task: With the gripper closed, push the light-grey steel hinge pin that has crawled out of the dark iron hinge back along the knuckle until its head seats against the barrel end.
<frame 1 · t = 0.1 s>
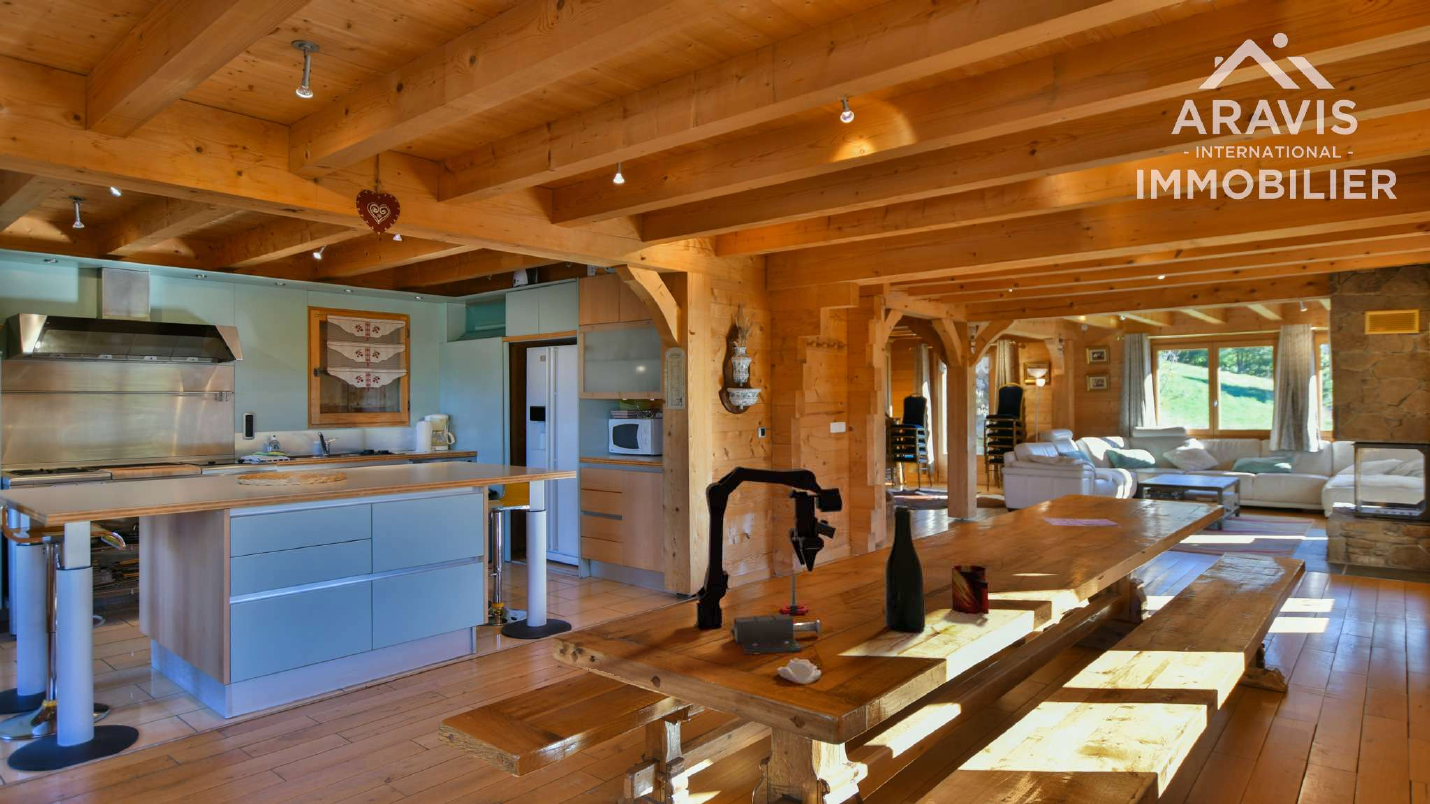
hand: (806, 568, 226), 15 cm above the table, tool pointing down, fingers open, 9 cm apart
tow hook: (794, 611, 236), on the table
beer bottle: (905, 628, 215), on the table
pin: (791, 628, 209), point 2 cm above the table, slide at 6.5 cm
hinge: (765, 639, 208), on the table
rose: (799, 678, 180), on the table
mug: (976, 611, 231), on the table
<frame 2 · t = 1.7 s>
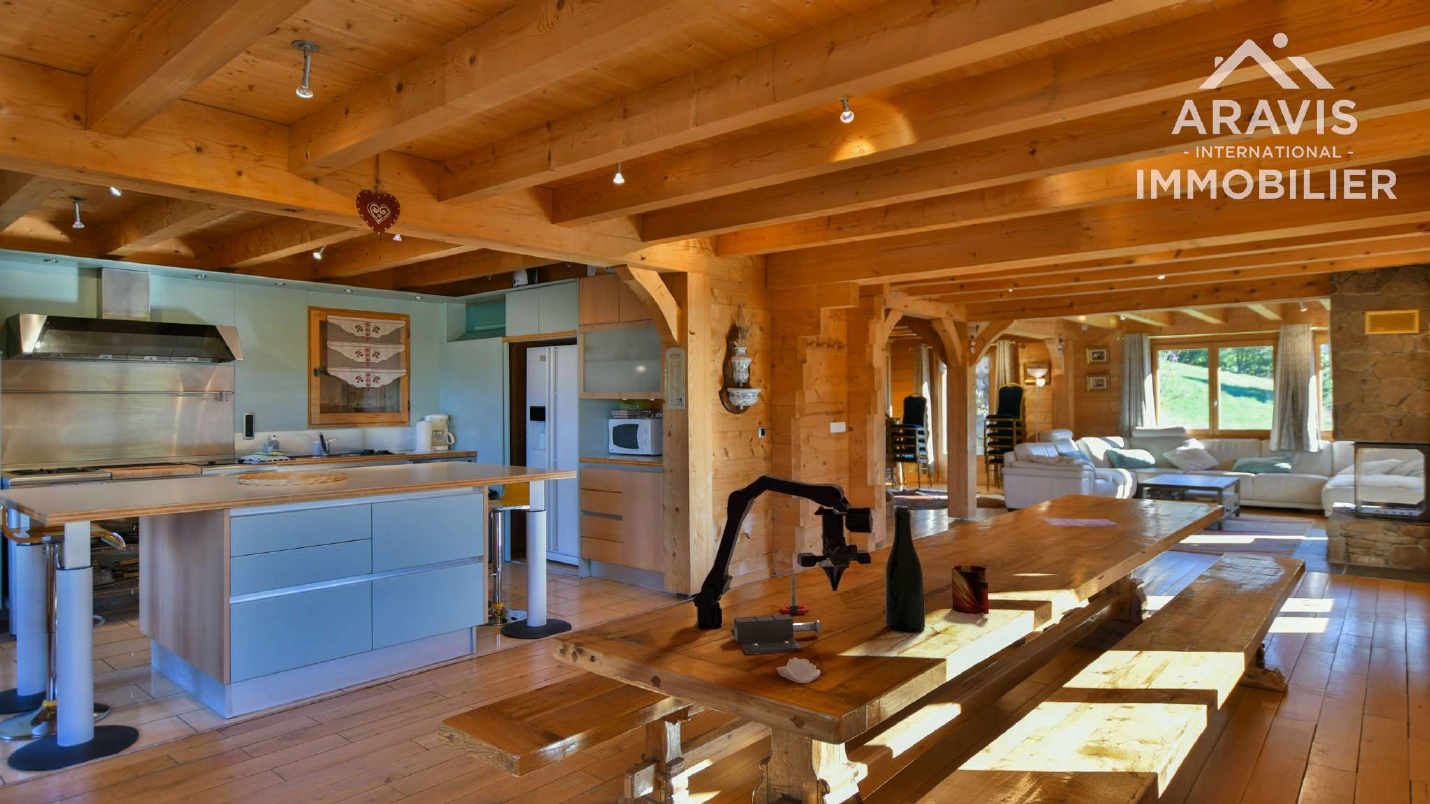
hand: (834, 590, 211), 12 cm above the table, tool pointing down, fingers closed
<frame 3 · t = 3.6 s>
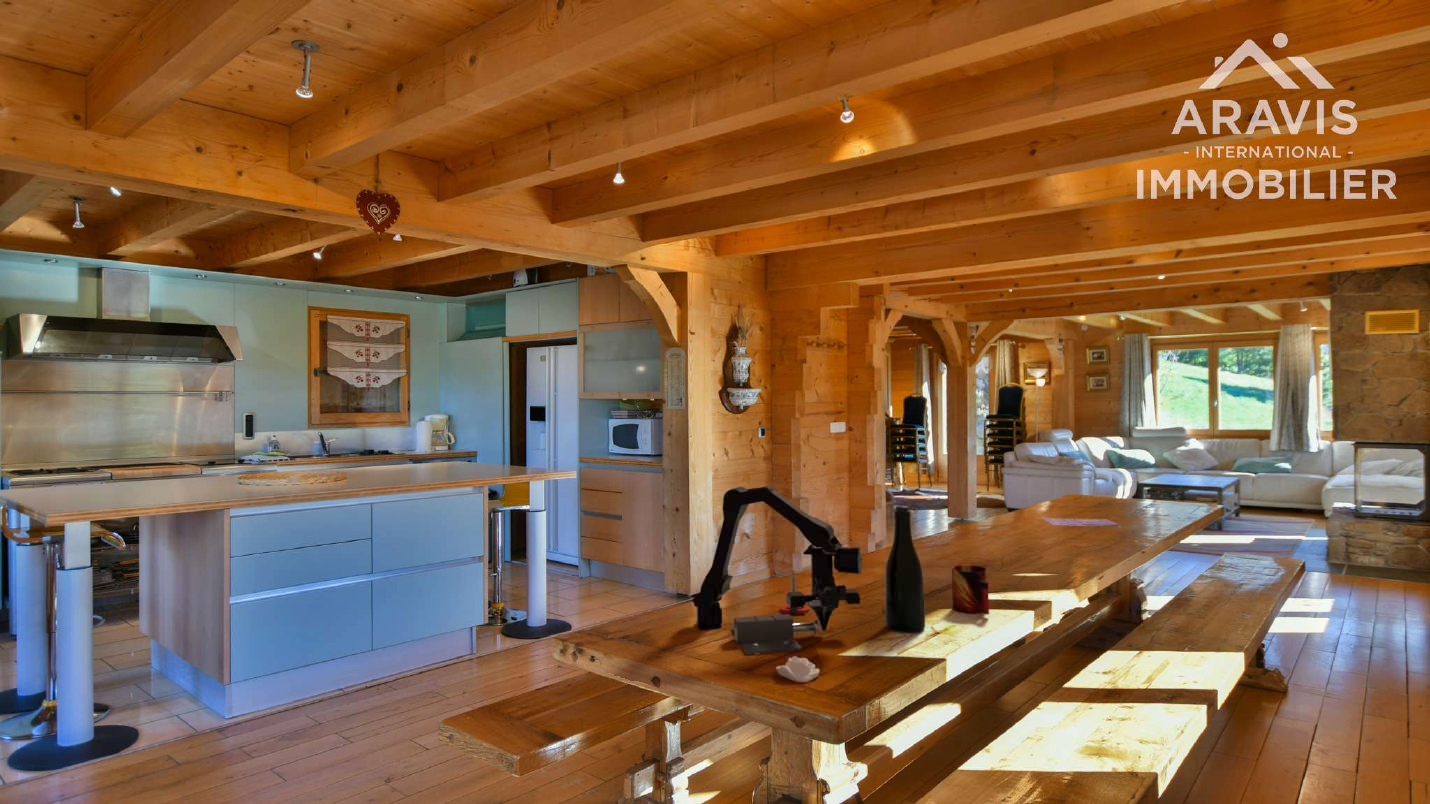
hand: (823, 630, 210), 1 cm above the table, tool pointing down, fingers closed
pin: (789, 628, 209), point 3 cm above the table, slide at 6.0 cm, touching gripper
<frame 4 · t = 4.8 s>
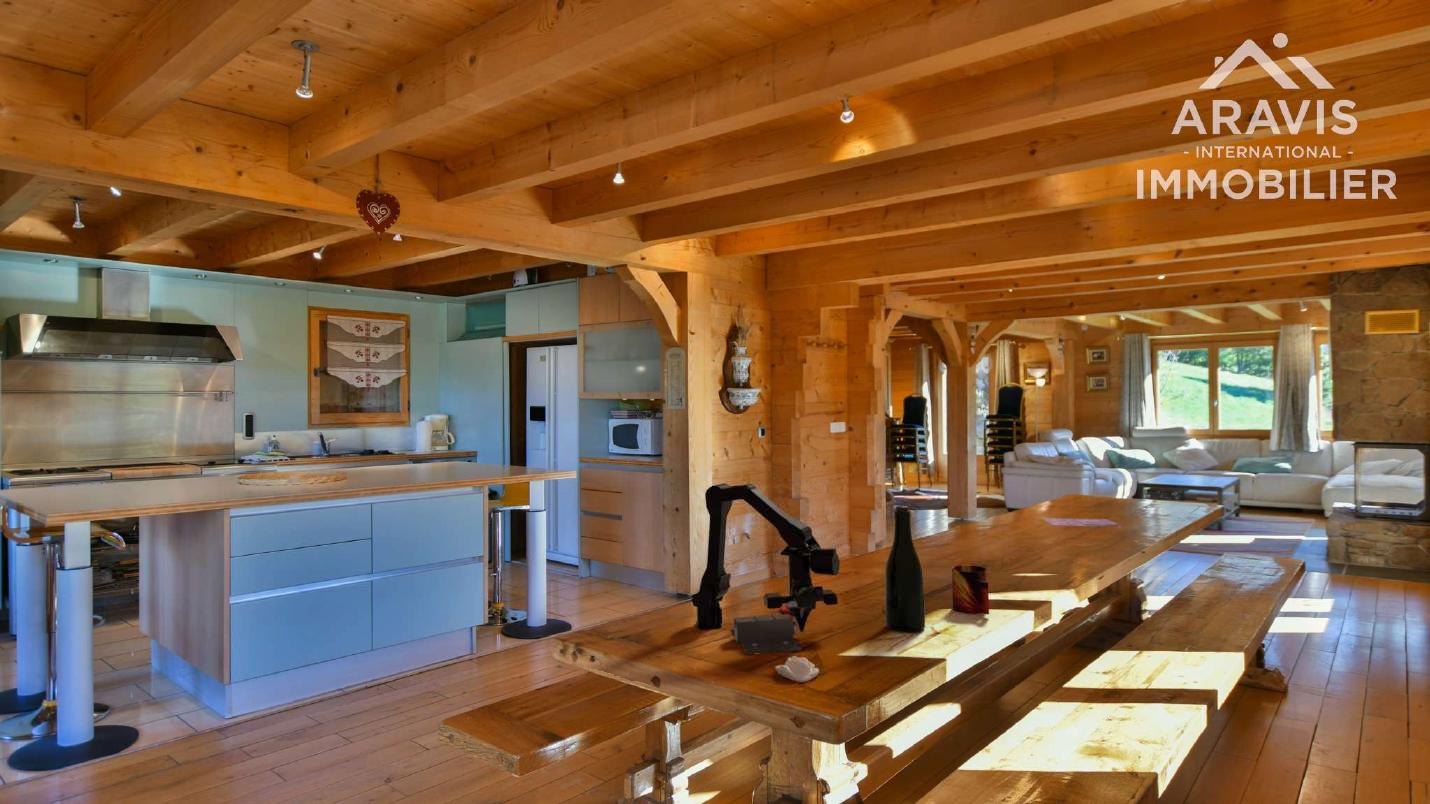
hand: (801, 631, 209), 1 cm above the table, tool pointing down, fingers closed
pin: (767, 629, 208), point 2 cm above the table, slide at 0.0 cm, touching gripper, hinge
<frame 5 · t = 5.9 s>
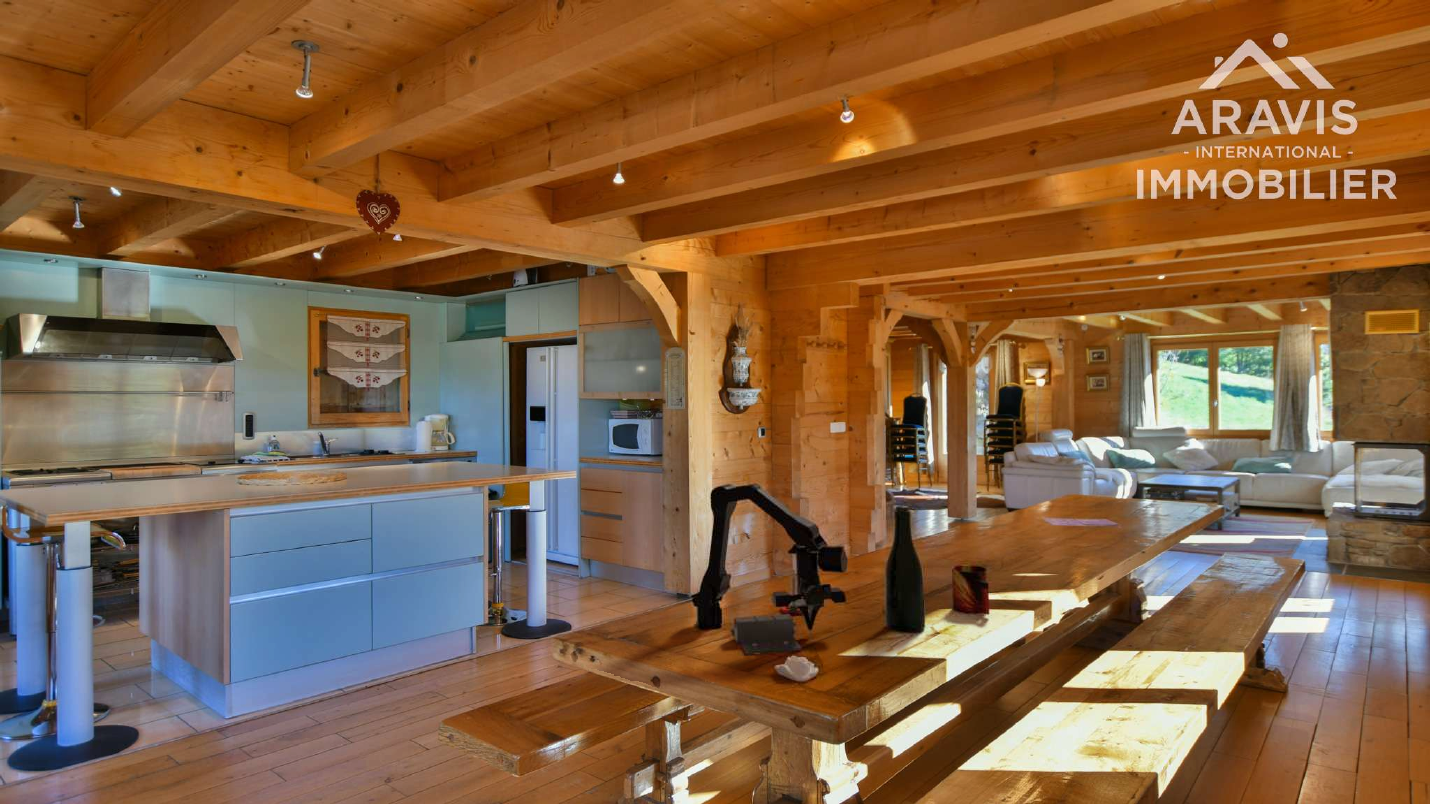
hand: (809, 629, 209), 2 cm above the table, tool pointing down, fingers closed
pin: (767, 629, 208), point 3 cm above the table, slide at 0.0 cm, touching hinge
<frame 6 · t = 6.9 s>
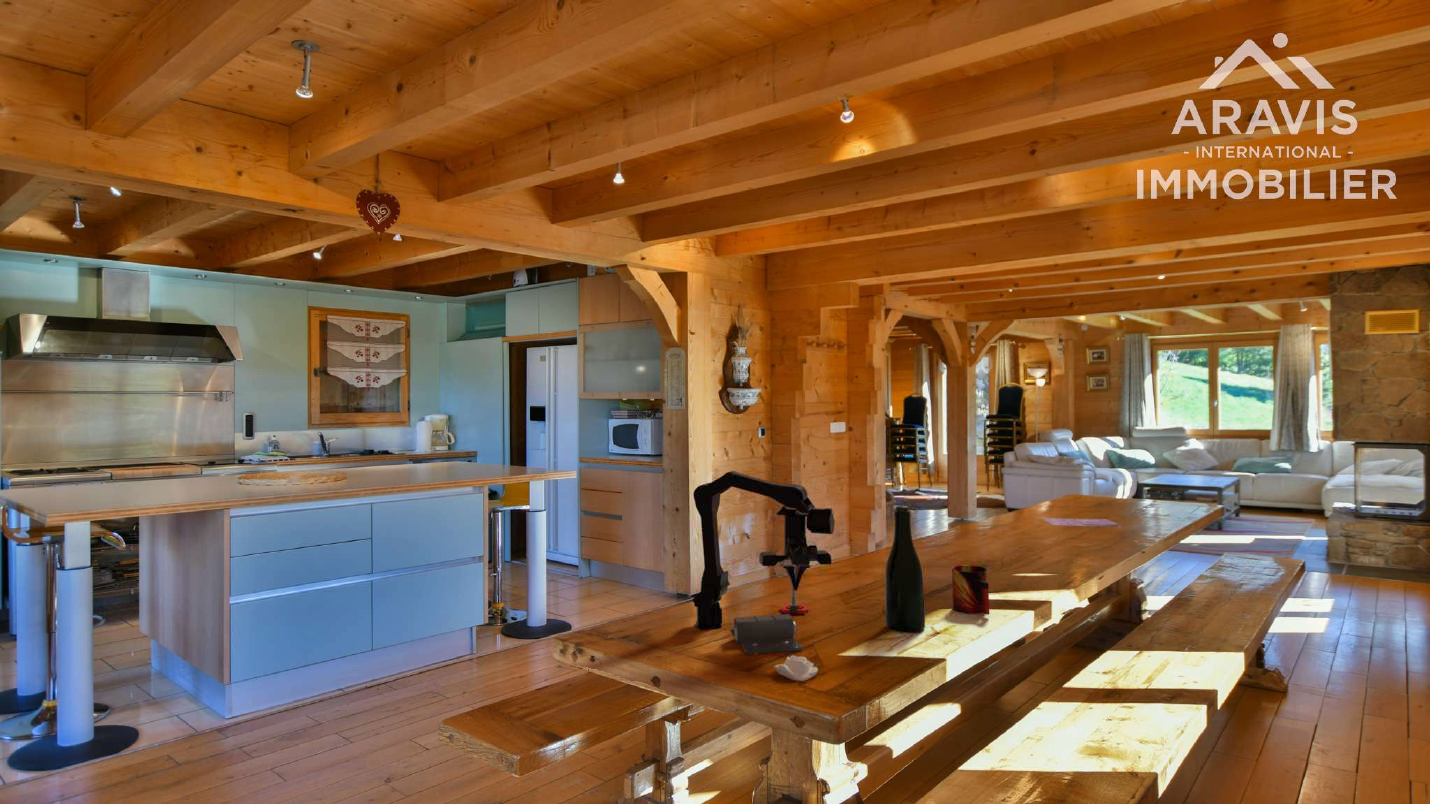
hand: (795, 590, 214), 11 cm above the table, tool pointing down, fingers closed
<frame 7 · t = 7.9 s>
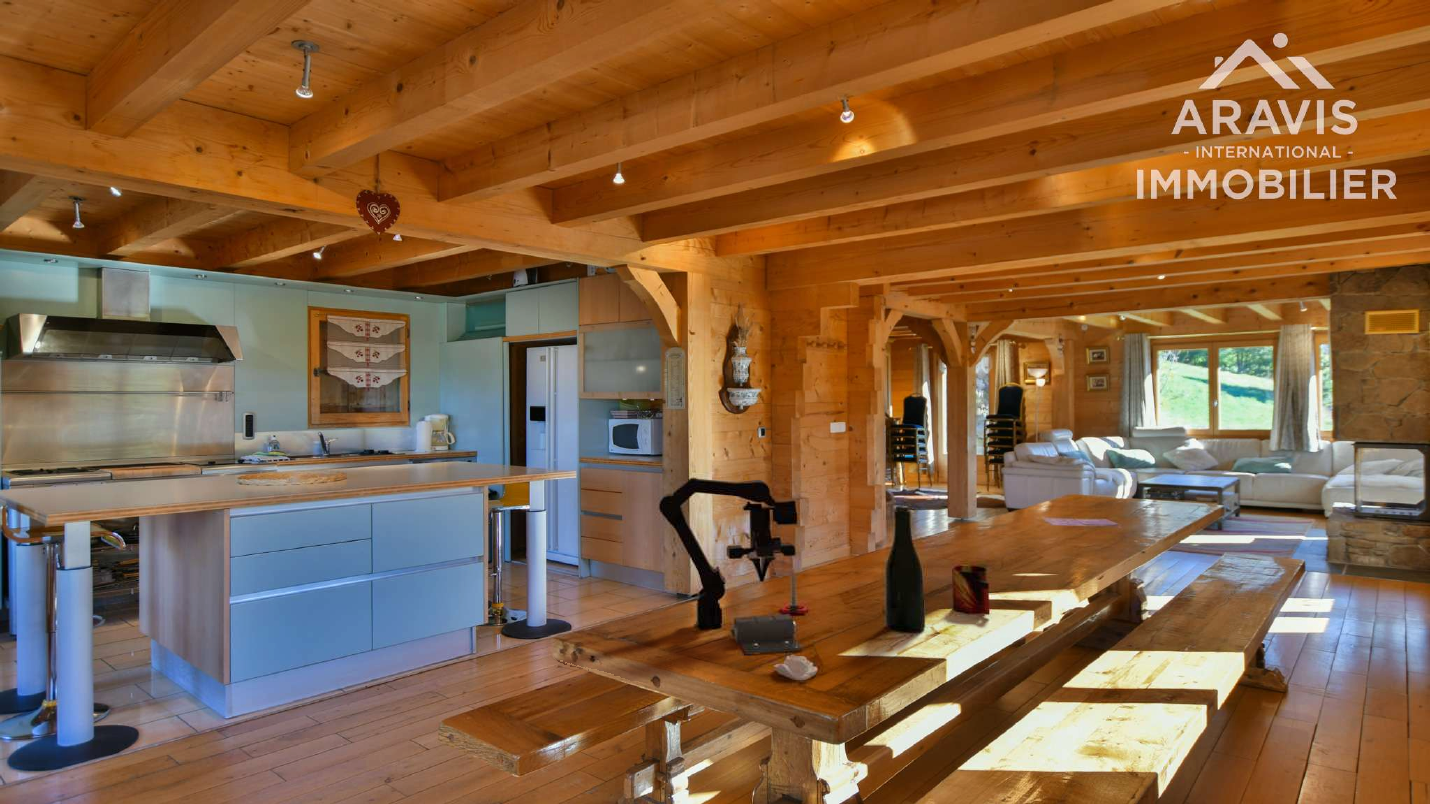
hand: (761, 581, 222), 12 cm above the table, tool pointing down, fingers closed
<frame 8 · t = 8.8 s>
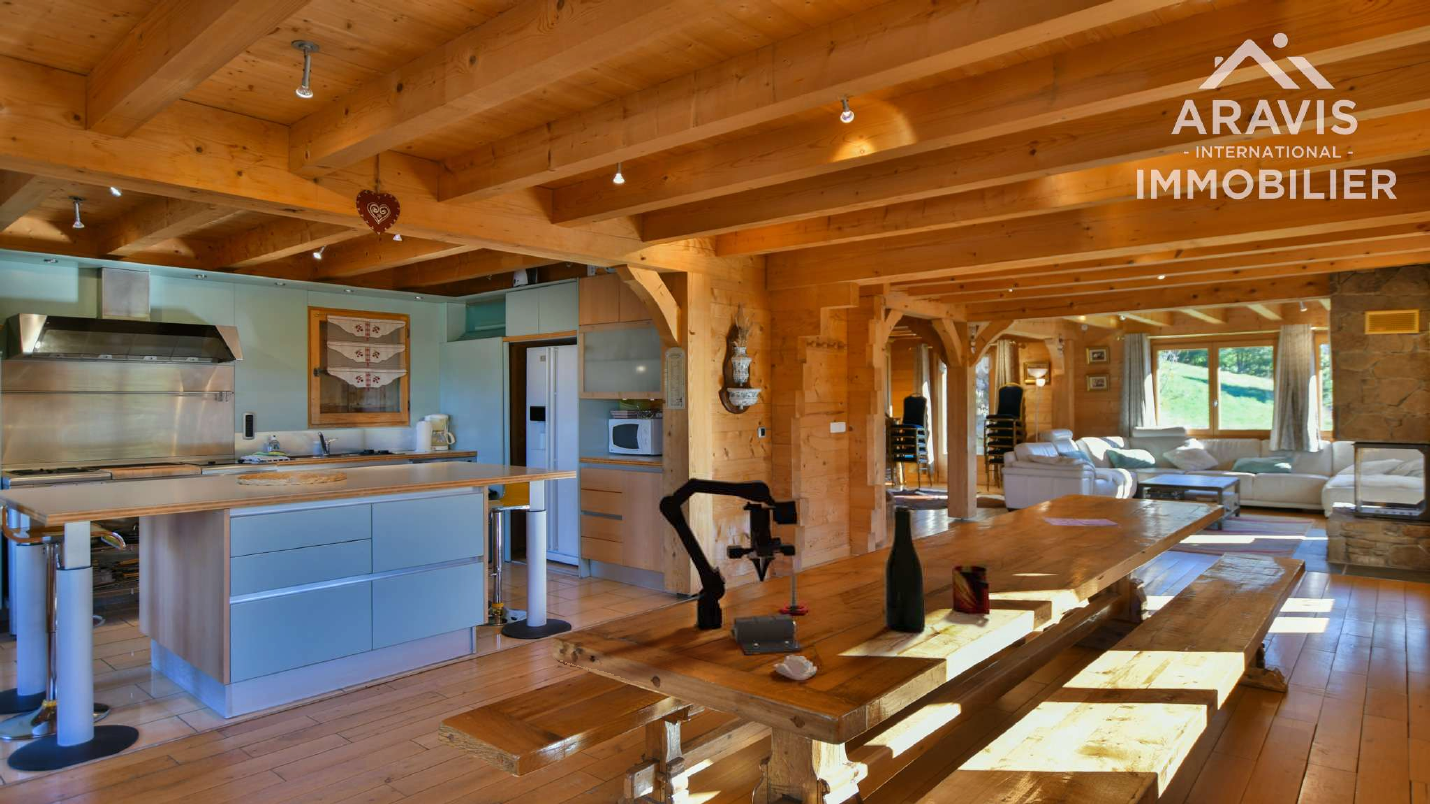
hand: (761, 581, 222), 12 cm above the table, tool pointing down, fingers closed
at the end: pin slide at 0.0 cm; the gripper is holding nothing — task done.
